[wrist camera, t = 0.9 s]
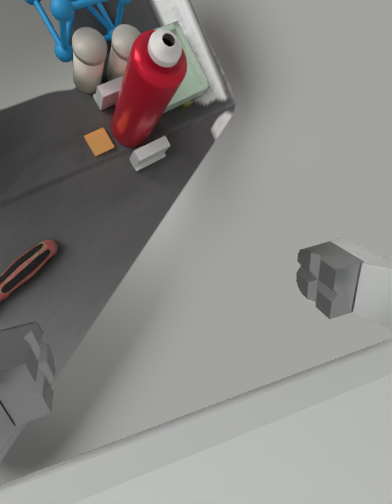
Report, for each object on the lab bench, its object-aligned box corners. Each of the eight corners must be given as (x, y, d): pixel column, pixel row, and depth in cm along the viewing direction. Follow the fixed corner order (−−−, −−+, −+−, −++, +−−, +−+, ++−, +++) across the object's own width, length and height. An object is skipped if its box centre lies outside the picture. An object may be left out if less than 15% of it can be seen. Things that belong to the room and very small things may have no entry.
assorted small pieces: (48, 77, 42) (42, 39, 34) (172, 32, 48) (190, -9, 41) (111, 184, 45) (119, 169, 37) (221, 128, 51) (246, 106, 43)
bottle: (156, 136, 47) (209, 56, 28) (126, 154, 45) (161, 82, 27) (134, 102, 46) (175, -3, 27) (102, 120, 44) (123, 21, 26)
